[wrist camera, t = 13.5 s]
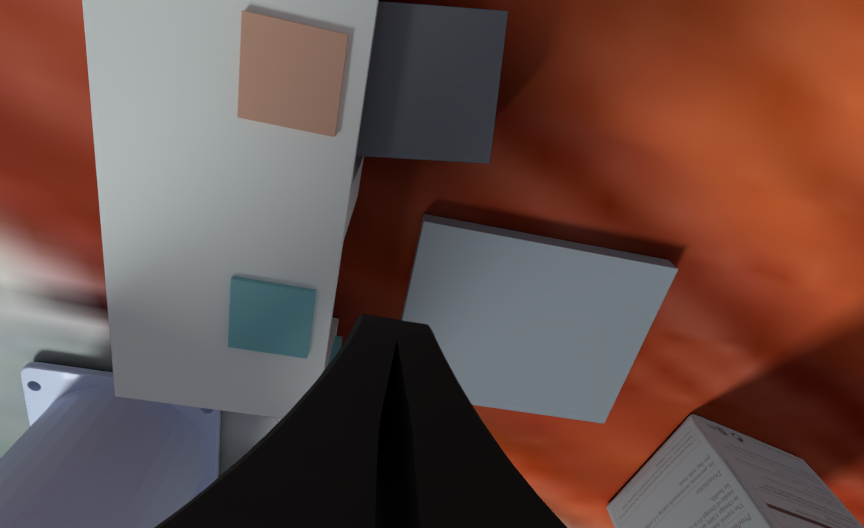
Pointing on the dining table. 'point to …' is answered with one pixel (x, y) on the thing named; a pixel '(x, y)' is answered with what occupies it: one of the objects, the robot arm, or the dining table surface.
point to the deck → (533, 315)
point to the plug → (432, 83)
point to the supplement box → (725, 486)
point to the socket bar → (225, 190)
